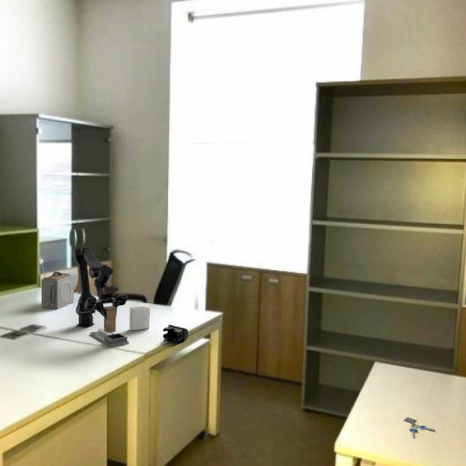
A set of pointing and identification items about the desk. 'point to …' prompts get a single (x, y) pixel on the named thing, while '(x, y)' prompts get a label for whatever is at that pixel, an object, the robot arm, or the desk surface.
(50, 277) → the portable television
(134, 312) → the photo printer
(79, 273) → the robot arm
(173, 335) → the end cap
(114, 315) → the brown tall block
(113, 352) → the desk surface
